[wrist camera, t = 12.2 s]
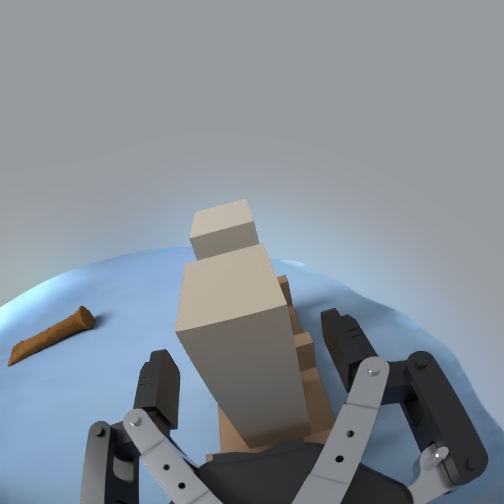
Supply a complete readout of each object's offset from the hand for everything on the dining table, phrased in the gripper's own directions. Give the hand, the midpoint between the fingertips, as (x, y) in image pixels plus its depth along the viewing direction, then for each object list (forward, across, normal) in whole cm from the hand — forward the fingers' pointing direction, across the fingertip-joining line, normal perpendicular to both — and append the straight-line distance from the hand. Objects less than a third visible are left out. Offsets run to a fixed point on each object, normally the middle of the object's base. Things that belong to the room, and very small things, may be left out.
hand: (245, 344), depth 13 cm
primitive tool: (+16, +32, +10) cm, 37 cm away
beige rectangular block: (0, 0, +8) cm, 8 cm away
